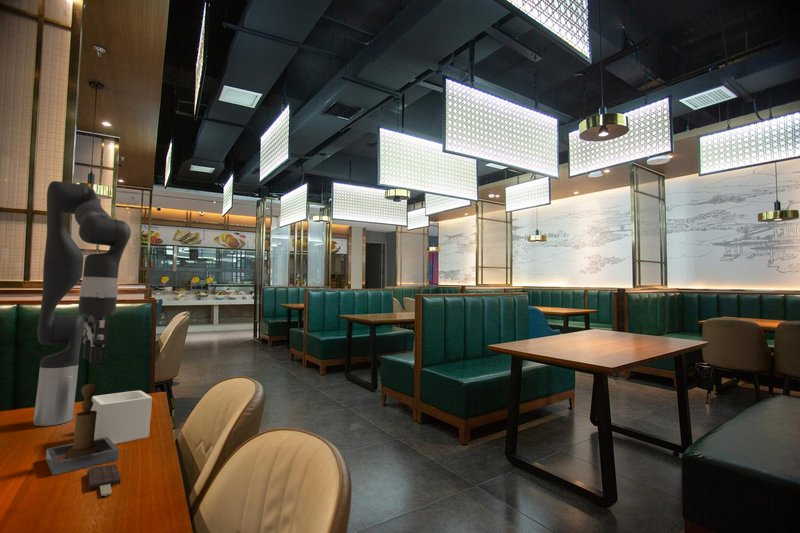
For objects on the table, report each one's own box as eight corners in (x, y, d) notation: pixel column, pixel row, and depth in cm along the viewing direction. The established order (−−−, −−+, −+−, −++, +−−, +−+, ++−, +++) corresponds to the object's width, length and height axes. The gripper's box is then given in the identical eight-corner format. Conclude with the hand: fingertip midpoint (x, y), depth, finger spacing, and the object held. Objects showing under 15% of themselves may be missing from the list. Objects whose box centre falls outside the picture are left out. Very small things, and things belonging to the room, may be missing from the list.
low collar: (45, 459, 93) (46, 448, 94) (106, 446, 102) (107, 437, 102) (52, 475, 85) (53, 463, 86) (117, 460, 94) (118, 449, 94)
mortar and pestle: (57, 466, 90) (66, 387, 92) (73, 455, 96) (80, 381, 98) (91, 464, 92) (99, 386, 93) (104, 453, 98) (111, 381, 99)
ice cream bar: (122, 495, 78) (115, 469, 90) (123, 487, 79) (116, 462, 90) (89, 503, 75) (86, 475, 86) (90, 494, 75) (87, 468, 87)
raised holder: (87, 436, 109) (91, 396, 111) (136, 426, 118) (140, 390, 119) (96, 447, 101) (100, 404, 102) (148, 436, 110) (152, 397, 111)
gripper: (74, 294, 100) (67, 358, 98) (85, 295, 90) (77, 366, 89) (110, 296, 105) (104, 356, 104) (123, 296, 96) (117, 362, 94)
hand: (92, 360), depth 96 cm, fingers open, 8 cm apart
